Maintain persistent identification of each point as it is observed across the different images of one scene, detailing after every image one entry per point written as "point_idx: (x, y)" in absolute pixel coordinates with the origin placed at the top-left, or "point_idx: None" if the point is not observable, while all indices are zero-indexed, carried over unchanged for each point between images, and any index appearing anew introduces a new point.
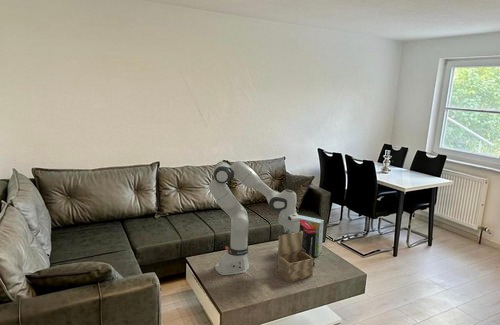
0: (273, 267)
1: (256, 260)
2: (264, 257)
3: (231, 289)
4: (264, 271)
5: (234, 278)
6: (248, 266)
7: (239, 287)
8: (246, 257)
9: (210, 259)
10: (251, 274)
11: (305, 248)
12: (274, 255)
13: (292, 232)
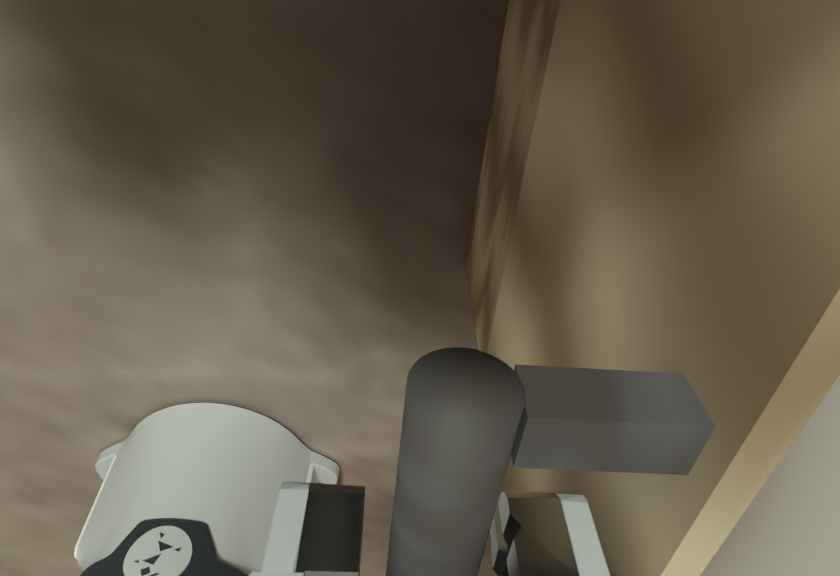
0: (357, 247)
1: (150, 310)
2: (95, 207)
3: (480, 573)
4: (387, 350)
5: (375, 530)
6: (273, 435)
7: (488, 543)
8: (259, 535)
9: (51, 549)
10: (380, 442)
11: None
12: (59, 60)
13: (508, 452)
